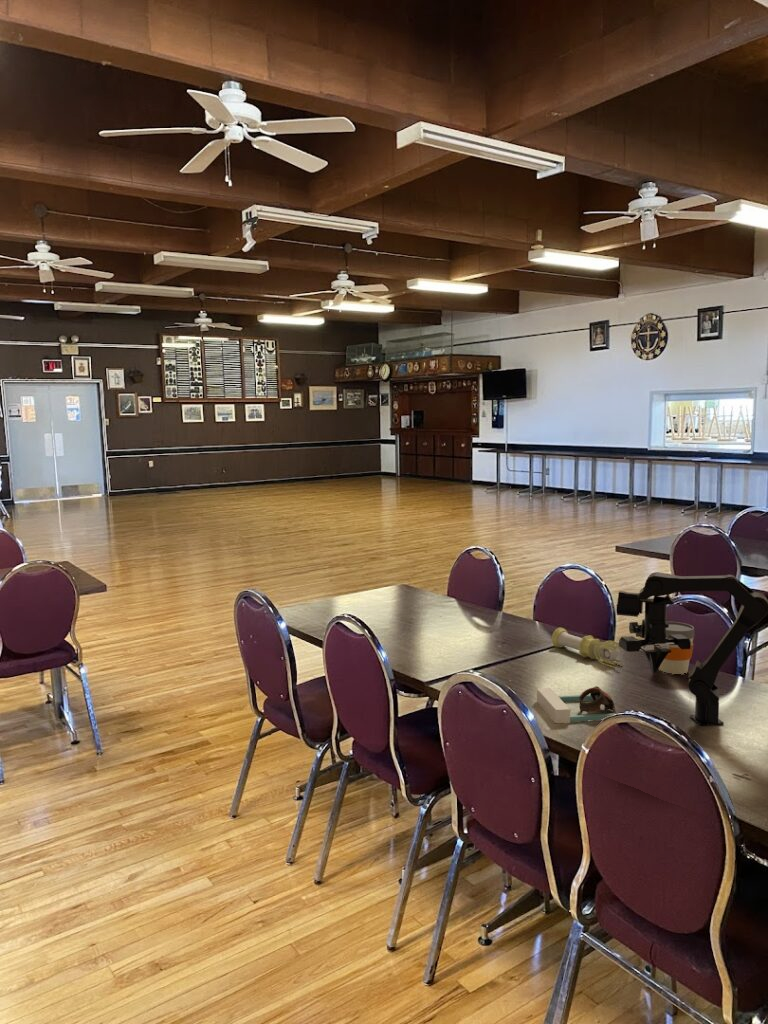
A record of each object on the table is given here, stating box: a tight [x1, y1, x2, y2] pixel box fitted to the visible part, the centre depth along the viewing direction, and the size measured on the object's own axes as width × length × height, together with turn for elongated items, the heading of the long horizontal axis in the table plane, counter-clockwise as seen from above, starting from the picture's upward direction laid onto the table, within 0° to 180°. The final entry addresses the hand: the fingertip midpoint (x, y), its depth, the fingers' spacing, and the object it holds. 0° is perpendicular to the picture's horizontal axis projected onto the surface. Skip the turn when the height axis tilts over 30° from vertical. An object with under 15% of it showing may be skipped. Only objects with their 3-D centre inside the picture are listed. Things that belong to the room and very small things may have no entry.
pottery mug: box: [578, 686, 617, 713], centre depth 210 cm, size 12×10×8 cm
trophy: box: [551, 627, 624, 669], centre depth 261 cm, size 8×8×30 cm
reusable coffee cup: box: [658, 621, 696, 675], centre depth 244 cm, size 13×13×15 cm
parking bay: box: [536, 687, 615, 724], centre depth 211 cm, size 17×20×4 cm
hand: (654, 672), depth 207 cm, fingers closed
